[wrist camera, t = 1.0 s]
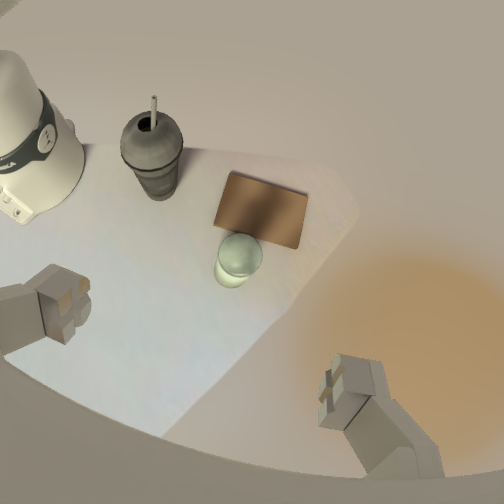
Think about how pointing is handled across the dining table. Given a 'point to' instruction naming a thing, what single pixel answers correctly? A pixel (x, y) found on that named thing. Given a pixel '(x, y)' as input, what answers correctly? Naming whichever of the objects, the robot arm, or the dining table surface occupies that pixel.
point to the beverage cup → (153, 151)
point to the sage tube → (237, 260)
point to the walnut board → (261, 211)
